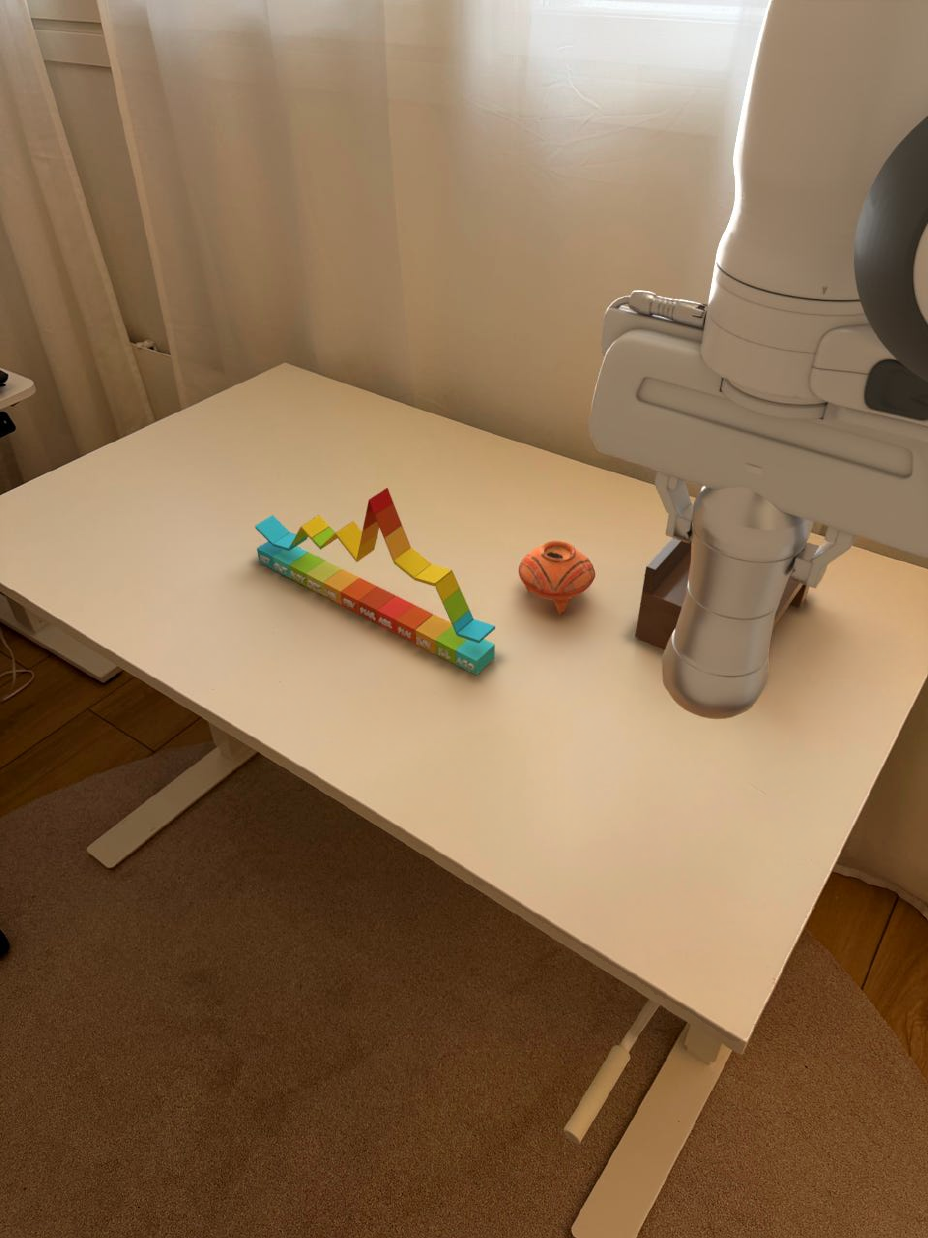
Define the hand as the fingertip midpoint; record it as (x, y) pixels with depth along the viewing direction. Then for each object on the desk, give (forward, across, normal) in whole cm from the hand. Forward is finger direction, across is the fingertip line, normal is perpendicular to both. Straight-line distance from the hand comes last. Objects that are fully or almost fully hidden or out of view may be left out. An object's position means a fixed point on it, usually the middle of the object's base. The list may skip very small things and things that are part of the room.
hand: (742, 556), depth 52 cm
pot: (+29, -24, +22) cm, 44 cm away
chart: (+29, -39, +9) cm, 50 cm away
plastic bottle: (+12, 0, 0) cm, 12 cm away
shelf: (+29, -8, +29) cm, 42 cm away
